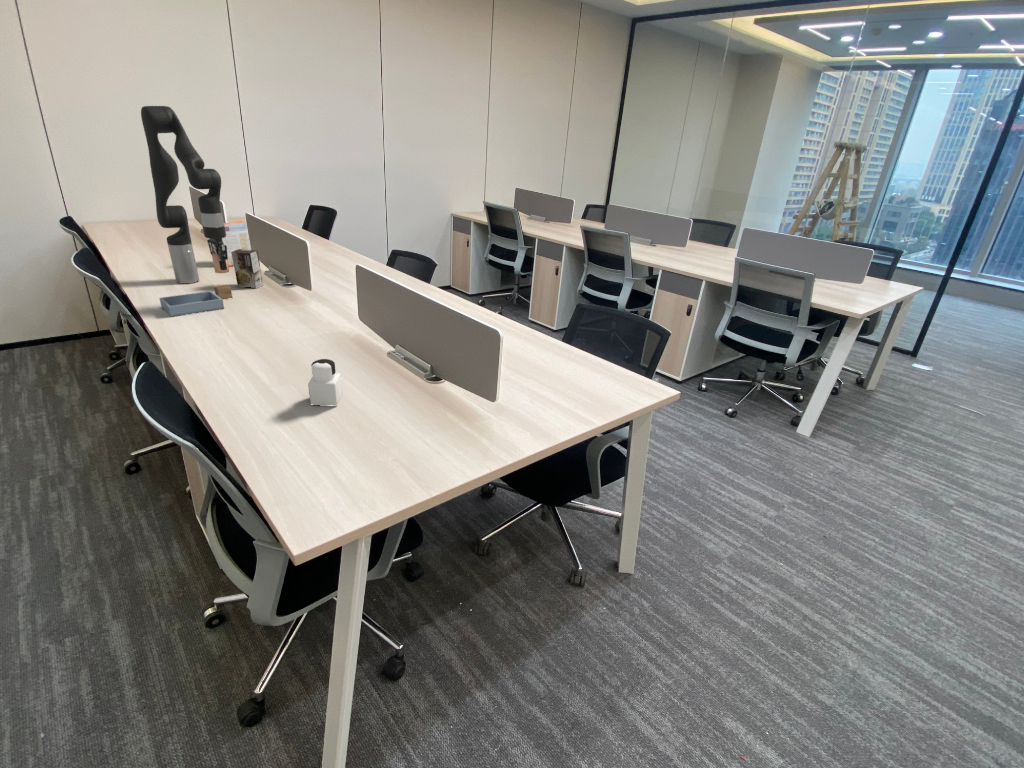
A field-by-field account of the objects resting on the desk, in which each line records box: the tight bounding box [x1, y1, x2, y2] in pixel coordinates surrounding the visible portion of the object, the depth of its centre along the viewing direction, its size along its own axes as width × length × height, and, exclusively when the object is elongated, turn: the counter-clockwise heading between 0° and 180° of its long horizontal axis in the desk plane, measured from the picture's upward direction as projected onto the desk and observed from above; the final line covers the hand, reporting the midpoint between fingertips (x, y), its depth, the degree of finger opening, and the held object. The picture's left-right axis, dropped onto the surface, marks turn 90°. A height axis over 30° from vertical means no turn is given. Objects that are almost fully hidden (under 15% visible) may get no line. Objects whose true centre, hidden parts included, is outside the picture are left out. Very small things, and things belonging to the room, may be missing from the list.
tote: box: [159, 290, 225, 318], centre depth 202 cm, size 14×19×4 cm
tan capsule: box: [211, 253, 230, 274], centre depth 203 cm, size 5×5×7 cm
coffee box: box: [231, 249, 264, 289], centre depth 231 cm, size 9×6×16 cm
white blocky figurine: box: [307, 358, 343, 406], centre depth 141 cm, size 7×7×12 cm
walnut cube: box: [213, 283, 233, 300], centre depth 216 cm, size 5×5×5 cm
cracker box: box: [222, 221, 252, 268], centre depth 263 cm, size 14×6×21 cm, turn 144°
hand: (221, 268), depth 204 cm, fingers closed on tan capsule, 5 cm apart
